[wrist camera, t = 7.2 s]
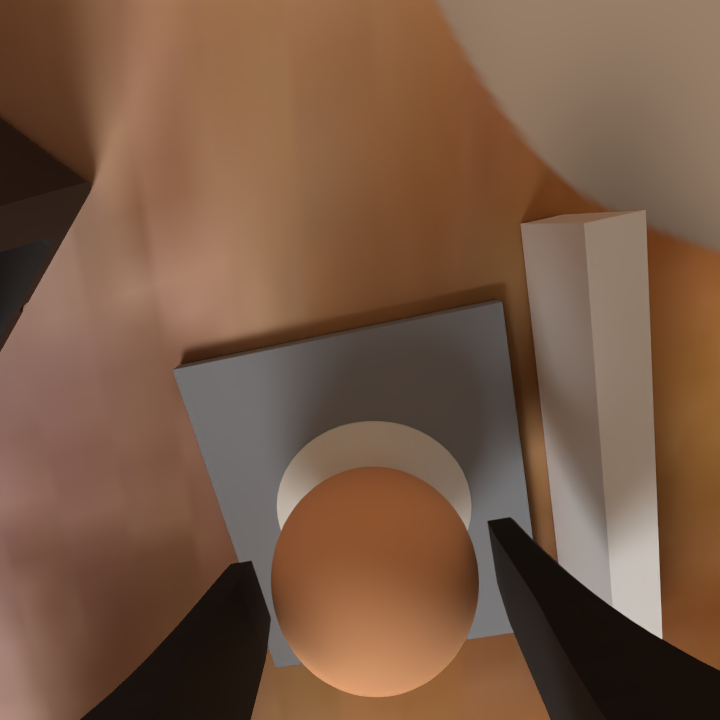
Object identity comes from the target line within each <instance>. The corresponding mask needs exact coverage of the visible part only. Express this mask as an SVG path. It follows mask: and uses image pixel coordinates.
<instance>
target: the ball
mask: <svg viewBox="0 0 720 720" xmlns="http://www.w3.org/2000/svg"><path fill="white" fill-rule="evenodd" d="M271 592H272V600H273V606H274V610H275V614H276V618H277V620H278V623H279V626H280V628H281V631H282V633H283V636H284V637H285V639H286V641H287V642H288V644H289V646H290V647H291V649H292V651H293V652H294V654H295V655H296V656H297V657H298V659H299V660H300V661H301V662H302V663H303V664H304V665H305V666H306V667H307V668H308V669H309V670H310V671H311V672H312V673H313V674H314V675H316V676H317V677H318V678H320V679H321V680H323V681H324V682H326V683H328V684H329V685H331V686H333V687H335V688H338V689H340V690H342V691H345V692H348V693H351V694H355V695H359V696H367V697H386V696H393V695H398V694H402V693H405V692H408V691H410V690H413V689H415V688H417V687H419V686H421V685H423V684H425V683H427V682H428V681H430V680H431V679H433V678H434V677H435V676H437V675H438V674H439V673H440V672H441V671H442V670H443V669H444V668H445V667H446V666H447V665H448V664H449V663H450V662H451V661H452V660H453V659H454V657H455V656H456V655H457V653H458V651H459V650H460V648H461V647H462V645H463V643H464V642H465V640H466V638H467V636H468V634H469V631H470V629H471V626H472V623H473V620H474V617H475V613H476V609H477V603H478V595H479V573H478V563H477V559H476V554H475V550H474V546H473V543H472V540H471V538H470V536H469V533H468V531H467V529H466V526H465V524H464V523H463V521H462V519H461V518H460V516H459V514H458V513H457V512H456V510H455V509H454V507H453V506H452V505H451V504H450V503H449V501H448V500H447V499H446V498H445V497H444V496H443V495H441V494H440V493H439V492H438V491H437V490H436V489H435V488H434V487H432V486H431V485H429V484H428V483H427V482H425V481H423V480H422V479H420V478H418V477H416V476H414V475H411V474H409V473H406V472H403V471H401V470H397V469H393V468H387V467H360V468H355V469H350V470H346V471H344V472H341V473H338V474H336V475H334V476H332V477H330V478H328V479H326V480H324V481H322V482H321V483H320V484H318V485H317V486H315V487H314V488H313V489H312V490H311V491H310V492H308V493H307V494H306V495H305V496H304V497H303V498H302V499H301V500H300V501H299V503H298V504H297V505H296V506H295V507H294V509H293V510H292V512H291V513H290V515H289V517H288V518H287V520H286V522H285V523H284V525H283V528H282V530H281V533H280V535H279V538H278V540H277V543H276V547H275V551H274V555H273V560H272V569H271Z"/></svg>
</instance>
